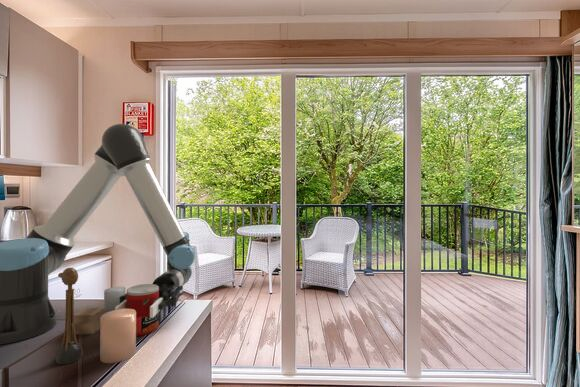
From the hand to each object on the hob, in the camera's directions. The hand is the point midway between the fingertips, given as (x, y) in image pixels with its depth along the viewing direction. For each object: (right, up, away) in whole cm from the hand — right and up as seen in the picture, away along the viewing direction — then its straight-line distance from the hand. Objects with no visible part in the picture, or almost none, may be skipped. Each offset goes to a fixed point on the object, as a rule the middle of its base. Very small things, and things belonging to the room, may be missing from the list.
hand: (134, 312), depth 74 cm
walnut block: (-14, -6, +4) cm, 16 cm away
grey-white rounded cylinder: (-14, -6, +16) cm, 22 cm away
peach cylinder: (0, -7, -7) cm, 10 cm away
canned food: (0, -7, +5) cm, 8 cm away
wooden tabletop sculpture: (-10, -7, -9) cm, 15 cm away
